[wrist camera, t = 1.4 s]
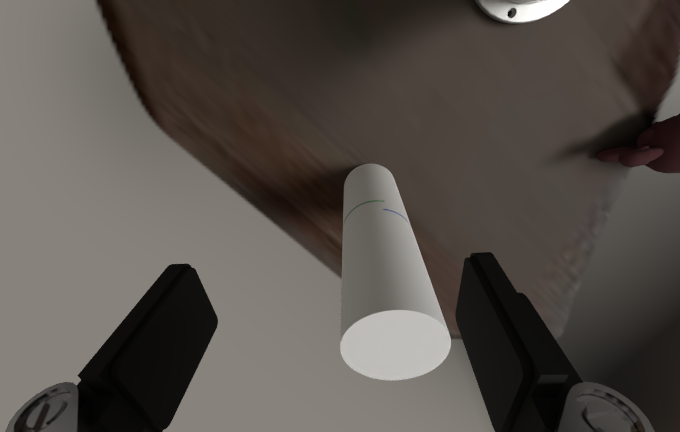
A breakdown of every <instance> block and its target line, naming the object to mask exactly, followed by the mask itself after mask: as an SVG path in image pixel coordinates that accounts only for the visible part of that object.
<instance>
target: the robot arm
mask: <svg viewBox="0 0 680 432" xmlns="http://www.w3.org/2000/svg"><path fill="white" fill-rule="evenodd" d="M569 1H570V0H475V2H476V3H477V5H478V6H479V7H480V8H481V10H482V11H483V12H484V13H486V14H487V15H488V16H490V17H491V18H493V19H495V20H497V21H500V22H503V23H509V24H520V23H528V22H533V21H536V20H539V19H541V18H544V17H547V16H549V15H550V14H552V13H554V12H555V11H557V10H559V9H560V8H562V7H563V6H564V5H565V4H566V3H568V2H569ZM508 11H510V15H509V16H508V15H507V14H508ZM456 322H457V325H458V328H459V331H460V334H461V337H462V340H463V342H464V345H465V348H466V351H467V354H468V357H469V360H470V362H471V365H472V368H473V371H474V374H475V377H476V380H477V382H478V385H479V388H480V391H481V394H482V397H483V400H484V402H485V405H486V408H487V411H488V414H489V417H490V420H491V422H492V425H493V428H494V430H495V432H654V430H653V428H652V426H651V424H650V422H649V420H648V419H647V418H646V417H645V415H644V414H643V413H642V412H641V410H640V409H639V408H638V407H637V406H636V405H634V404H633V403H632V402H631V401H630V400H629V399H627V398H626V397H624V396H623V395H621V394H620V393H618V392H616V391H615V390H613V389H611V388H608V387H606V386H603V385H600V384H596V383H591V382H585V383H583V381H582V380H581V378H580V377H579V375H578V374H577V372H576V371H575V369H574V368H573V366H572V365H571V363H570V362H569V360H568V359H567V357H566V356H565V354H564V353H563V351H562V349H561V348H560V346H559V345H558V343H557V342H556V340H555V339H554V337H553V336H552V334H551V333H550V331H549V330H548V328H547V327H546V325H545V323H544V322H543V320H542V319H541V317H540V316H539V314H538V313H537V311H536V310H535V308H534V307H533V305H532V304H531V302H530V301H529V299H528V298H527V297H526V296H525V295H524V294H523V293H517V292H516V290H515V289H514V287H513V285H512V284H511V282H510V281H509V279H508V277H507V276H506V274H505V273H504V271H503V269H502V268H501V266H500V265H499V263H498V261H497V260H496V258H495V257H494V255H493V254H492V253H490V252H486V253H472V254H471V256H470V258H465V261H464V267H463V273H462V279H461V285H460V290H459V296H458V302H457V308H456ZM217 324H218V319H217V316H216V314H215V311H214V309H213V307H212V305H211V303H210V300H209V298H208V296H207V294H206V292H205V289H204V287H203V285H202V283H201V281H200V279H199V276H198V274H197V272H196V270H195V269H194V268H192V267H191V266H190V265H189V264H172V265H169V266H168V267H167V268H166V269H165V271H164V272H163V273H162V274H161V275H160V277H159V278H158V279H157V281H155V283H154V284H153V285H152V286H151V287H150V289H149V290H148V291H147V292H146V294H145V295H144V296H143V297H142V298H141V300H140V301H139V302H138V303H137V304H136V306H135V307H134V308H133V309H132V310H131V312H130V313H129V314H128V315H127V317H126V318H125V319H124V320H123V321H122V323H121V324H120V325H119V326H118V327H117V329H116V330H115V331H114V332H113V333H112V335H111V336H110V337H109V338H108V340H107V341H106V342H105V343H104V344H103V346H102V347H101V348H100V349H99V350H98V352H97V353H96V354H95V355H94V356H93V358H92V359H91V360H90V361H89V363H88V364H87V365H86V366H85V367H84V369H83V370H82V371H81V372H80V374H79V375H78V376H79V377H80V379H81V381H80V382H79V384H78V385H75V384H74V383H71V382H64V383H59V384H56V385H53V386H51V387H49V388H46V389H45V390H43V391H41V392H40V393H38V394H36V395H35V396H34V397H33V398H31V399H30V400H29V401H28V402H26V403H25V404H24V405H23V406H22V407H21V408H20V409H19V410H18V411H17V412H16V414H15V415H14V416H13V418H12V419H11V421H10V422H9V424H8V427H7V429H6V431H5V432H162V431H163V430H164V429H166V428H167V427H168V426H169V425H170V423H171V421H172V419H173V417H174V415H175V413H176V411H177V408H178V407H179V404H180V402H181V400H182V398H183V396H184V394H185V392H186V390H187V388H188V385H189V384H190V382H191V379H192V377H193V375H194V373H195V371H196V369H197V367H198V365H199V363H200V361H201V359H202V357H203V355H204V353H205V351H206V349H207V347H208V344H209V342H210V340H211V338H212V336H213V334H214V332H215V330H216V328H217Z"/></svg>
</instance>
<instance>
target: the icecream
mask: <svg viewBox="0 0 680 432" xmlns="http://www.w3.org/2000/svg"><path fill="white" fill-rule="evenodd" d="M597 158H598V159H599V160H600V161H603V162H616V161H620V163H621V164H622V165H625V166H627V167H635V166H640V165H646V166H647V167H649V168H651V169H653V170H655V171H658V172H663V173H680V114H679V115H677V116H673V117H671V118H669V119H666V120H664V121H661V122H656V123H654V124H653V125H652V126H651V127H649V128H648V129H646V130H645V131H644V132H642V133H641V134H640V135H639V137H638V139H637V143H636V146H627V147H619V148H611V149H608V150H604V151H601V152H599V153H598V154H597Z"/></svg>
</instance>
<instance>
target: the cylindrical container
mask: <svg viewBox="0 0 680 432" xmlns="http://www.w3.org/2000/svg"><path fill="white" fill-rule="evenodd" d="M341 296H342V297H341V338H340V341H341V342H340V350H341V354H342V357H343V359H344V360H345V362H346V363H347V364H348V365H349V366H350V367H351V368H352V369H354V370H355V371H357V372H358V373H360V374H363V375H365V376H368V377H371V378H375V379H382V380H404V379H409V378H414V377H417V376H420V375H423V374H425V373H427V372H429V371H431V370H433V369H434V368H436V367H437V366H439V365H440V364H441V362H443V361H444V360H445V358H446V357H447V355H448V353H449V351H450V348H451V339H450V335H449V332H448V329H447V326H446V324H445V321H444V318H443V315H442V312H441V309H440V307H439V304H438V301H437V298H436V295H435V293H434V290H433V287H432V284H431V281H430V278H429V276H428V273H427V270H426V267H425V264H424V262H423V259H422V256H421V253H420V250H419V248H418V245H417V242H416V239H415V236H414V234H413V231H412V228H411V225H410V222H409V219H408V217H407V214H406V211H405V208H404V205H403V203H402V200H401V197H400V194H399V191H398V189H397V186H396V183H395V180H394V177H393V176H392V174H391V173H390V172H389V170H388V169H386V168H385V167H383V166H381V165H378V164H363V165H361V166H358V167H356V168H355V169H353V170H352V171H351V172H350V173H349V175H348V176H347V178H346V180H345V183H344V207H343V249H342V294H341Z"/></svg>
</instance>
